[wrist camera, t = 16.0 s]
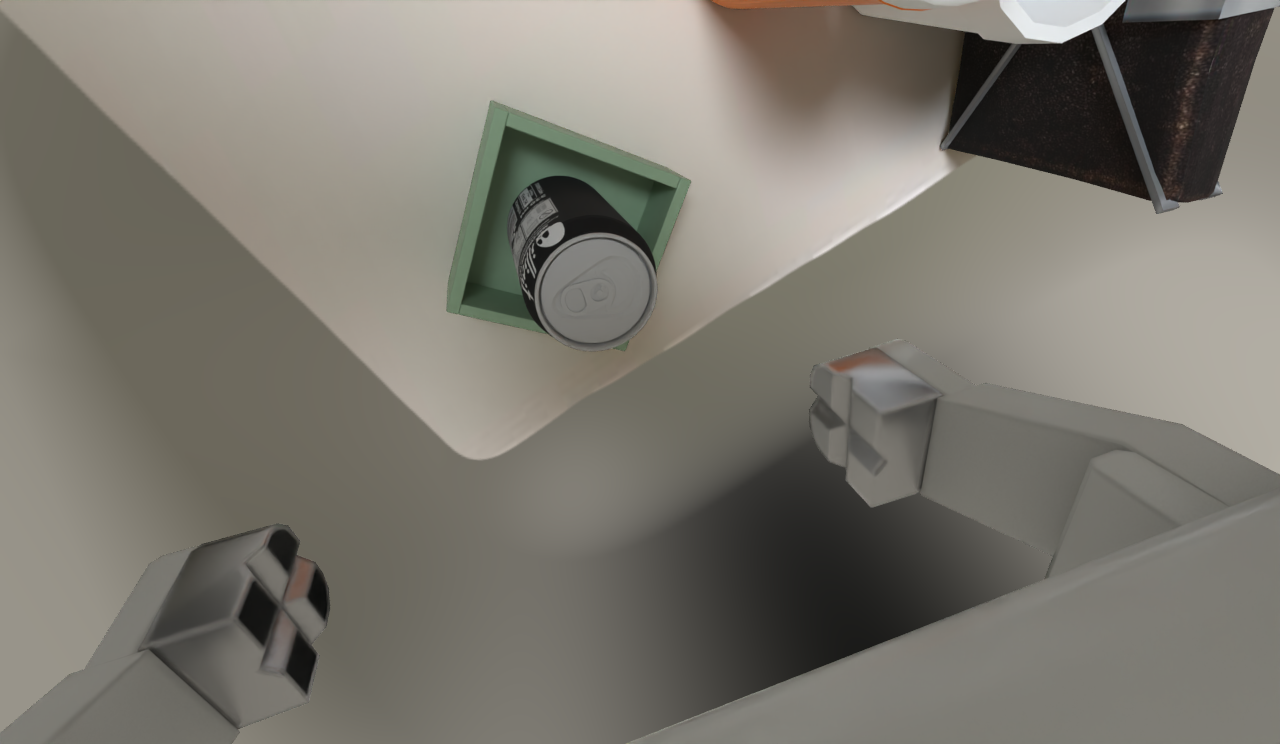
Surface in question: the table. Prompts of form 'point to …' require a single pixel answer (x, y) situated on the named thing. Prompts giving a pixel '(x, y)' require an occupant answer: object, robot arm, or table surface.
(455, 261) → the bin
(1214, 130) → the book
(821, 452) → the robot arm
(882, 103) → the table surface
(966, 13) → the foam cup
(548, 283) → the beverage can
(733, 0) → the shaker bottle
